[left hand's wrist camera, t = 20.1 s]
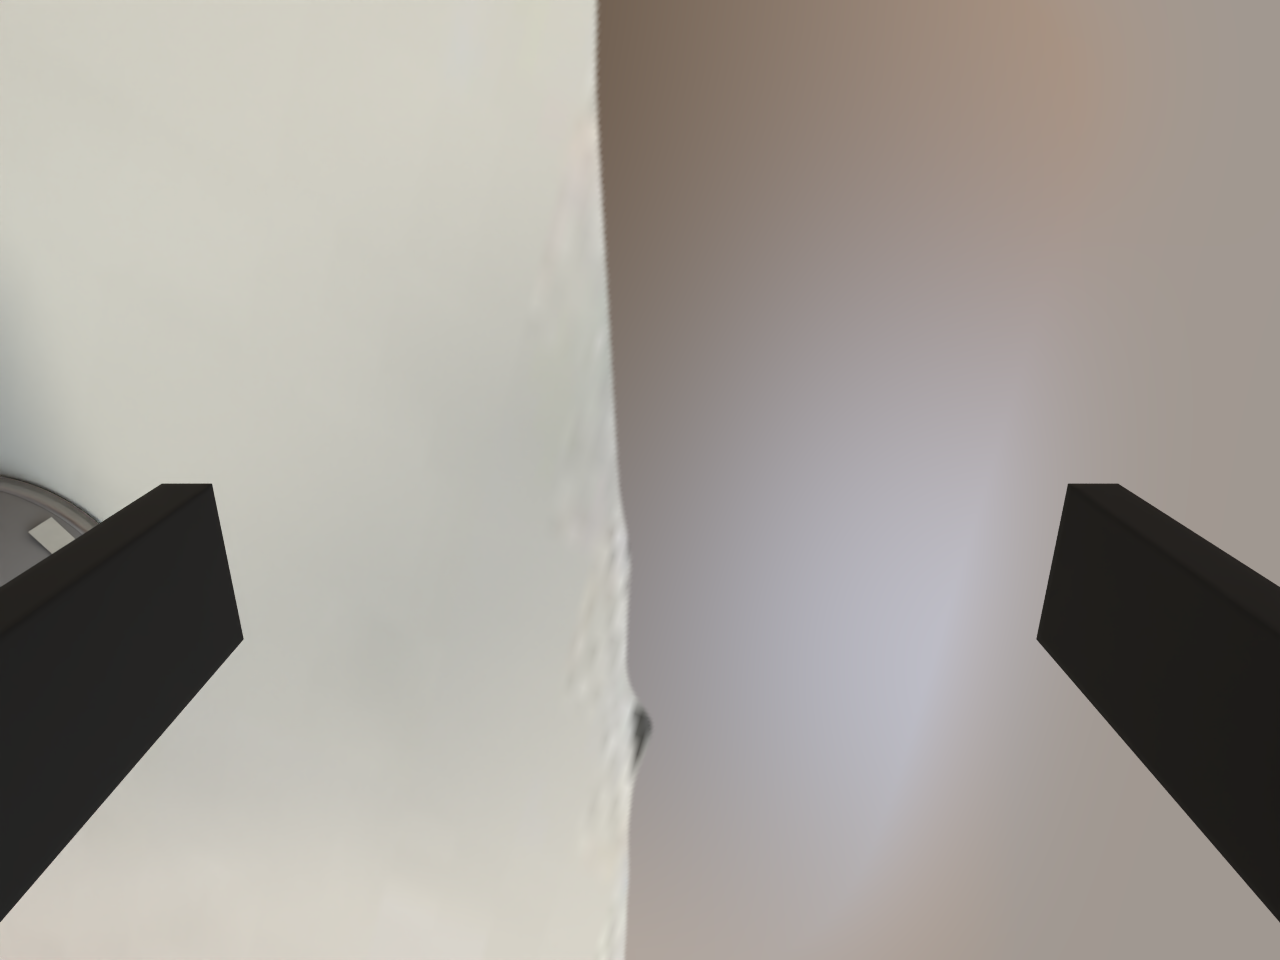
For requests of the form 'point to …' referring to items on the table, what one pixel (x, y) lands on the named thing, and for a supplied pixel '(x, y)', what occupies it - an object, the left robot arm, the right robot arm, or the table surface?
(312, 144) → the table surface
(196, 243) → the table surface
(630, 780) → the table surface
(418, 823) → the table surface
